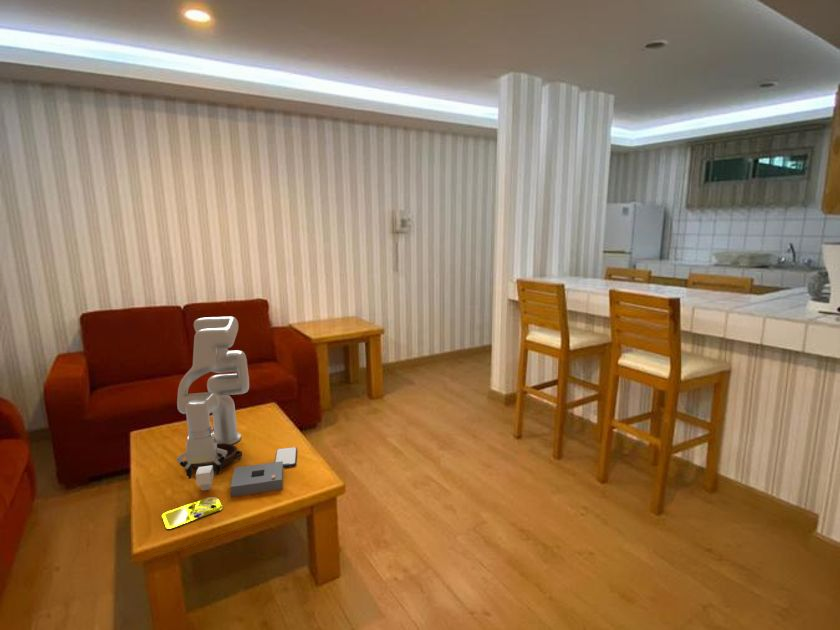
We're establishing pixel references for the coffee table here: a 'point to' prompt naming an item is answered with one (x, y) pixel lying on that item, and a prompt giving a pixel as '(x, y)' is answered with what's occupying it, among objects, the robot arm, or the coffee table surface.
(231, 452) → the dish
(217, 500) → the game console
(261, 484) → the socket
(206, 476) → the plug
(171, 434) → the coffee table surface
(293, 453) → the smartphone
